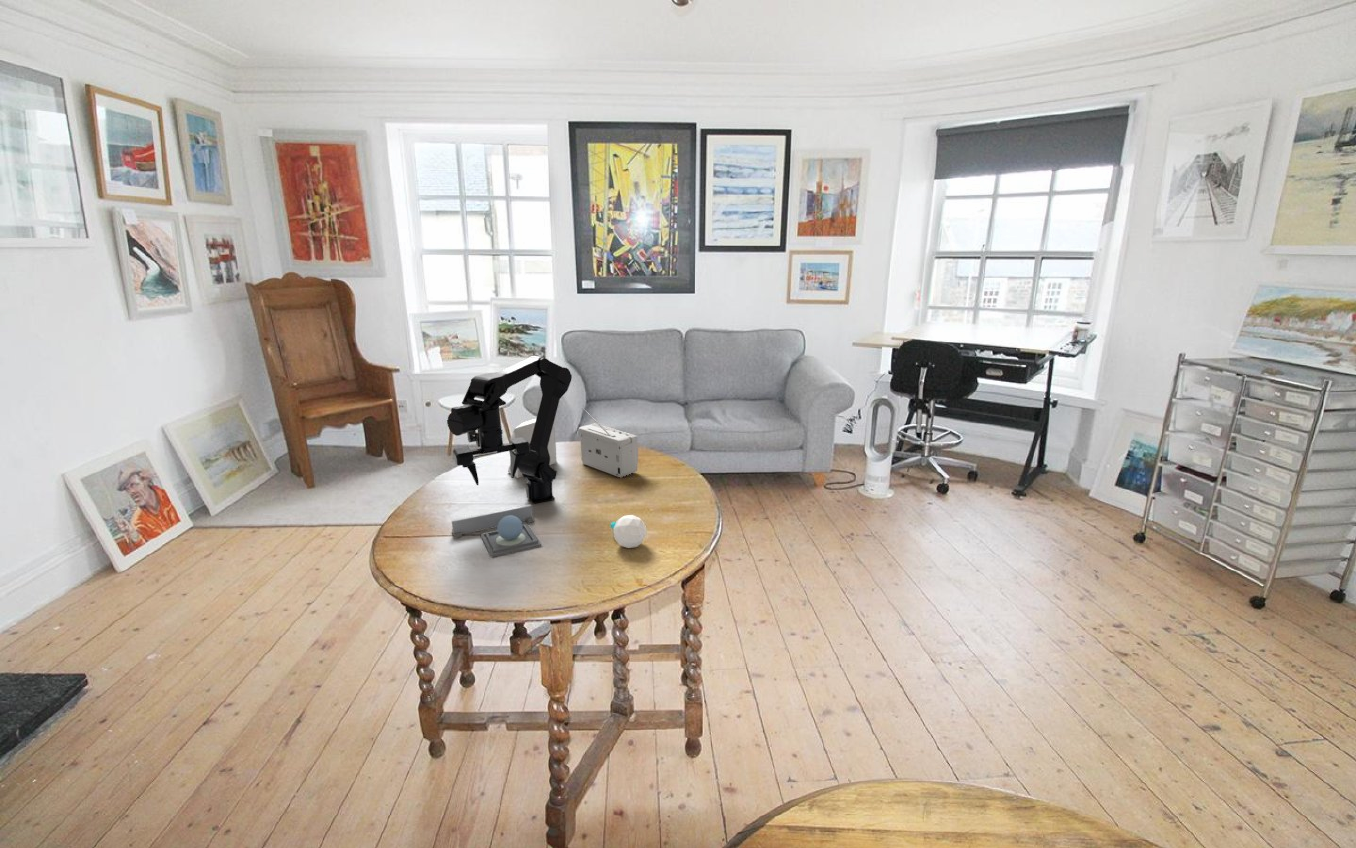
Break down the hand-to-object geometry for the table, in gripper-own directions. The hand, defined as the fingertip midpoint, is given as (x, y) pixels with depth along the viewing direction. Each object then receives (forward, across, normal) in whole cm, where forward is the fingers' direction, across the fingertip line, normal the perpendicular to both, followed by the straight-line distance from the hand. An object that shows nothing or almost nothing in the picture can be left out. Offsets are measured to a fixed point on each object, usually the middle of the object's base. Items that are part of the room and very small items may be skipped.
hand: (495, 481), depth 156 cm
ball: (+10, +1, +14) cm, 18 cm away
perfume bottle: (+11, -23, +30) cm, 39 cm away
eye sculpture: (+12, -20, -33) cm, 40 cm away
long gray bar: (+11, +2, +4) cm, 12 cm away
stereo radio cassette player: (+12, -41, -19) cm, 46 cm away
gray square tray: (+11, +1, +14) cm, 18 cm away
